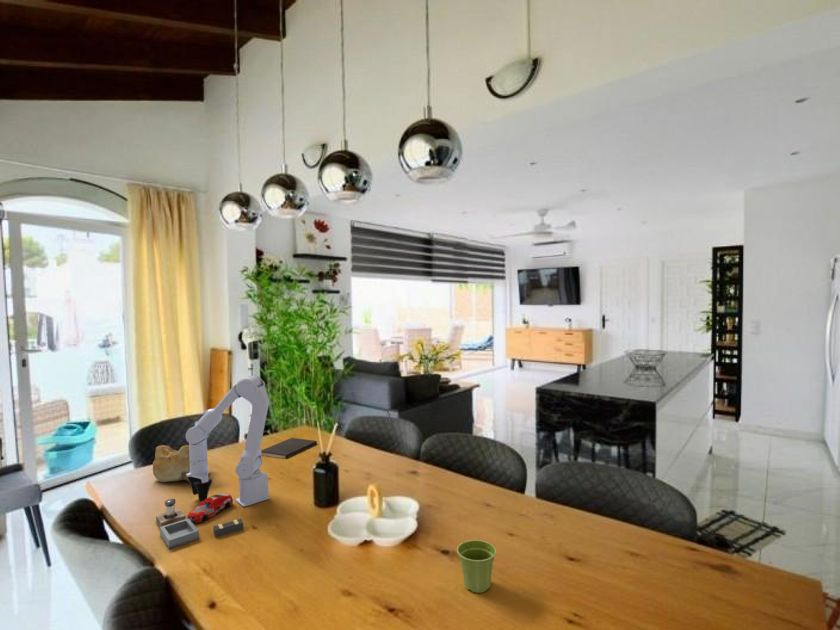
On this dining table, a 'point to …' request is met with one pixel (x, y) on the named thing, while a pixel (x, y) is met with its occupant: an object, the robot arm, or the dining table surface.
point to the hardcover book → (288, 448)
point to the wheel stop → (227, 527)
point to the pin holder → (163, 521)
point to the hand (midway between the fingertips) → (199, 497)
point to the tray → (179, 533)
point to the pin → (170, 508)
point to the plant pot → (476, 564)
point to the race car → (210, 507)
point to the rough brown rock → (171, 463)
